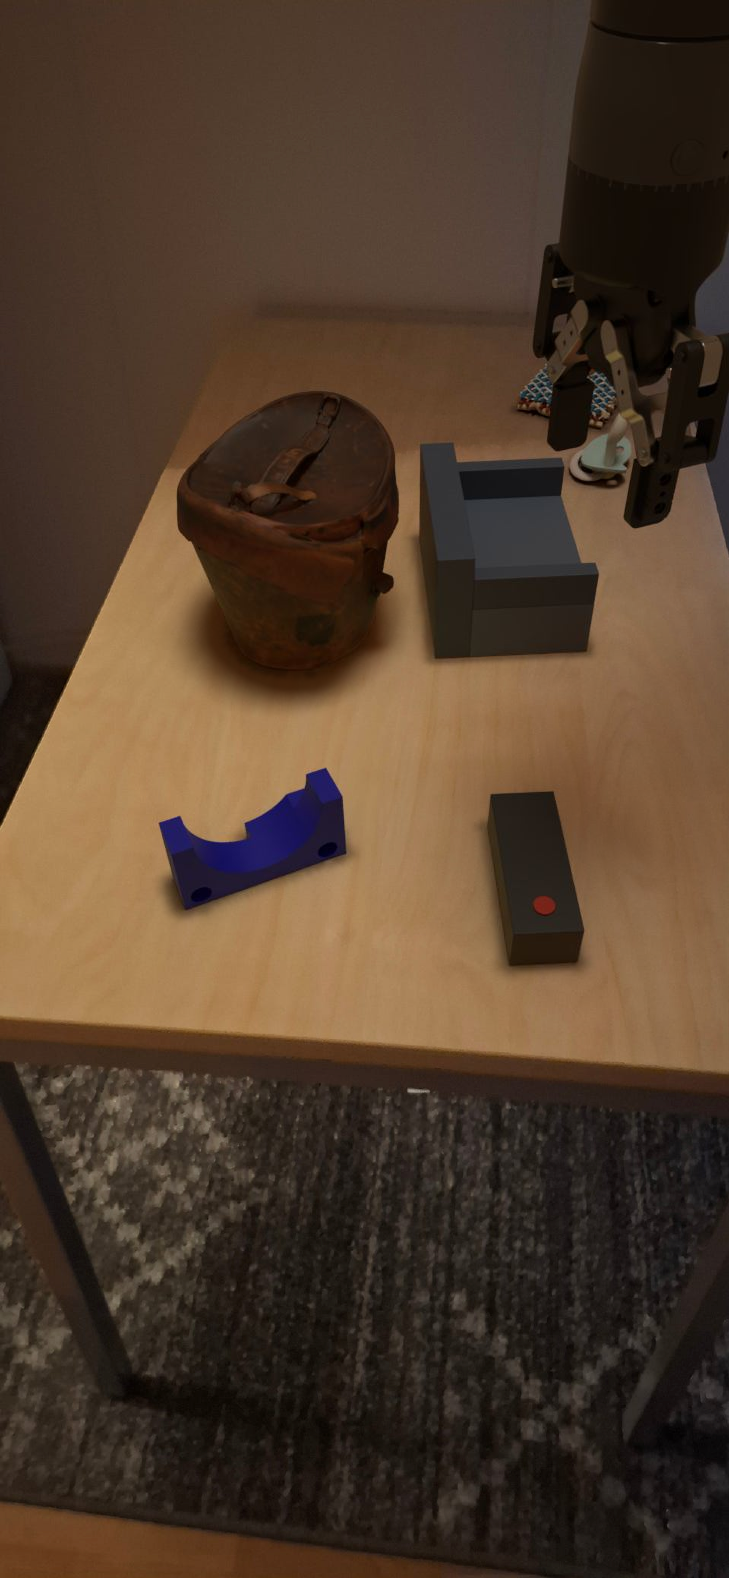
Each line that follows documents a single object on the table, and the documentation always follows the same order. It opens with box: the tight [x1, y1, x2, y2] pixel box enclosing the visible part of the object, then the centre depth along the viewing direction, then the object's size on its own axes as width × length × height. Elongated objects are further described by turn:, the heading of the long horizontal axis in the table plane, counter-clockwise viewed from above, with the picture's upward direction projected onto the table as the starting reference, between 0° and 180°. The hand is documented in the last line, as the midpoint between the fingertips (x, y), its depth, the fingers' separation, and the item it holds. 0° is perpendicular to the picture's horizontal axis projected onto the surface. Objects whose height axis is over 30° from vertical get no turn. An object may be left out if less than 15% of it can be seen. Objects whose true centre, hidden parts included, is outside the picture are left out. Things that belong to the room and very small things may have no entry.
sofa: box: [418, 442, 600, 659], centre depth 91 cm, size 13×18×10 cm
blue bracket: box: [158, 767, 347, 911], centre depth 72 cm, size 12×4×6 cm, turn 114°
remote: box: [487, 790, 585, 966], centre depth 71 cm, size 4×12×4 cm, turn 2°
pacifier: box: [568, 412, 632, 482], centre depth 106 cm, size 7×6×6 cm
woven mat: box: [516, 363, 618, 430], centre depth 118 cm, size 10×11×2 cm
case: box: [176, 390, 400, 670], centre depth 86 cm, size 18×20×18 cm
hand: (602, 482), depth 57 cm, fingers open, 8 cm apart
